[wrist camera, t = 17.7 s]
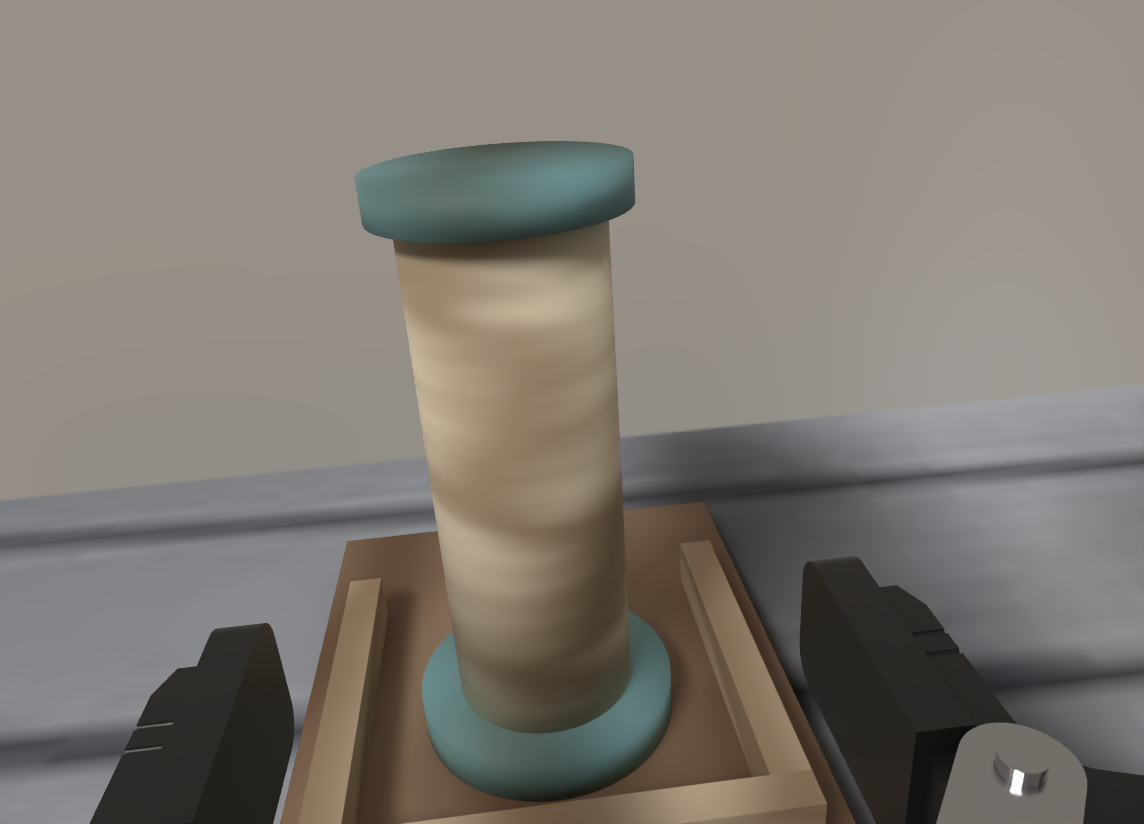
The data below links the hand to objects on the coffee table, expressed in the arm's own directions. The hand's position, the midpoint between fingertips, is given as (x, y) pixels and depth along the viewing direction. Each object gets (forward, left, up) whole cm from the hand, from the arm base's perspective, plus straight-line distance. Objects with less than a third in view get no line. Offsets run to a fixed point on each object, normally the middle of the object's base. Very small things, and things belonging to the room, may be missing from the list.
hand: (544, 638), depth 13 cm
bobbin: (0, -9, -10) cm, 13 cm away
